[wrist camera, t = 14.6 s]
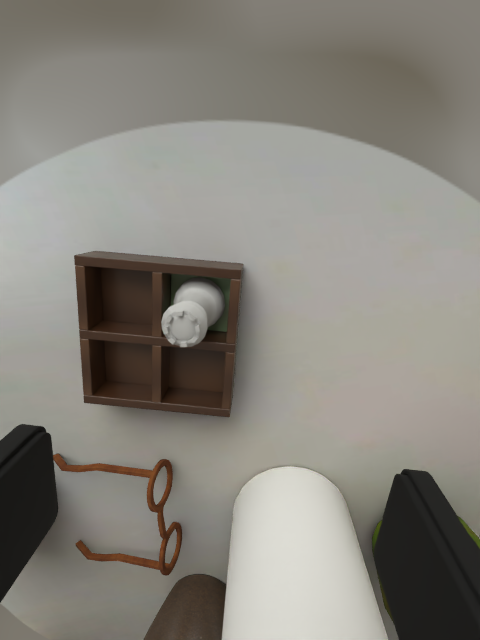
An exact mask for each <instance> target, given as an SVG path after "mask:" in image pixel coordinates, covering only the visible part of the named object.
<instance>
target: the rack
mask: <svg viewBox="0 0 480 640" xmlns="http://www.w3.org/2000/svg"><path fill="white" fill-rule="evenodd" d="M74 259H75V265H76V266H75V271H76V286H77V301H78V316H79V329H80V330H79V332H80V347H81V362H82V377H83V391H84V403H92V404H102V405H112V406H122V407H132V408H142V409H152V410H162V411H172V412H182V413H192V414H203V415H213V416H223V417H230V411H231V405H232V398H233V386H234V374H235V361H236V349H237V337H238V325H239V312H240V300H241V288H242V275H243V264H240V263H229V262H217V261H206V260H194V259H183V258H171V257H159V256H148V255H136V254H125V253H113V252H102V251H93V252H88V253H83V254H78V255H75V256H74ZM192 278H205V279H208V280H211V281H213V282H214V283H215V284H216V285H217V286H219V287H220V289H221V291H222V293H223V295H224V300H225V307H224V311H223V314H222V315H221V317H220V318H219V319H218V320H217V321H216V323H215V324H213V325H211V326H209V327H207V328H208V329H207V332H206V335H205V337H204V338H203V339H202V341H201V342H200V343H198V344H196V345H194V346H192V347H180V346H178V345H175V344H171V343H170V342H169V341H168V339H167V338H166V336H165V334H164V333H163V331H162V325H161V321H162V317H163V314H164V313H165V311H166V310H167V309H168V308H169V307H170V306H172V305H174V302H173V301H174V298H175V294H176V292H177V290H178V289H179V288H180V286H181V285H182V284H183V283H184V282H186V281H188V280H190V279H192Z"/></svg>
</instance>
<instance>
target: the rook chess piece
mask: <svg viewBox="0 0 480 640" xmlns="http://www.w3.org/2000/svg"><path fill="white" fill-rule="evenodd" d="M173 302H174V305H172V306H170V307H169V308H168V309H167V310H166V311H165V313H164V314H163V317H162V321H161V325H162V331H163V333H164V334H165V336H166V338H167V339H168V341H169V342H170V343H171V344H175V345H178V346H180V347H192V346H194V345H196V344H198V343H200V342H201V341H202V339H203V338H204V337H205V335H206V332H207V329H208V328H207V327H209V326H211V325H213V324H215V323H216V321H217V320H218V319H219V318H220V317H221V315H222V314H223V311H224V307H225V300H224V295H223V293H222V291H221V289H220V287H219V286H217V285H216V284H215V283H214V282H213V281H211V280H208V279H205V278H192V279H190V280H188V281H186V282H184V283H183V284H182V285H181V286H180V288H179V289H178V290H177V292H176V294H175V298H174V301H173Z"/></svg>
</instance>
